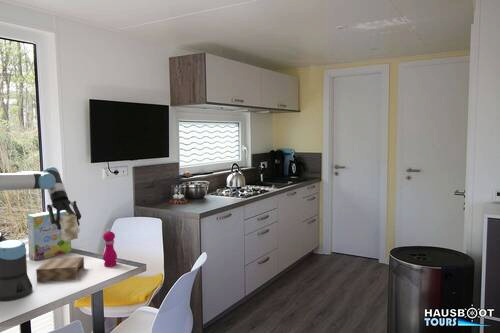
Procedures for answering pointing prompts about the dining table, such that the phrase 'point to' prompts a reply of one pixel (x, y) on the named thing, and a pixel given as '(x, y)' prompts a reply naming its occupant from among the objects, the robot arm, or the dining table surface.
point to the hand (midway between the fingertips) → (71, 233)
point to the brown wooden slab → (59, 269)
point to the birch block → (69, 227)
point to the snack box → (45, 236)
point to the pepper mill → (109, 249)
